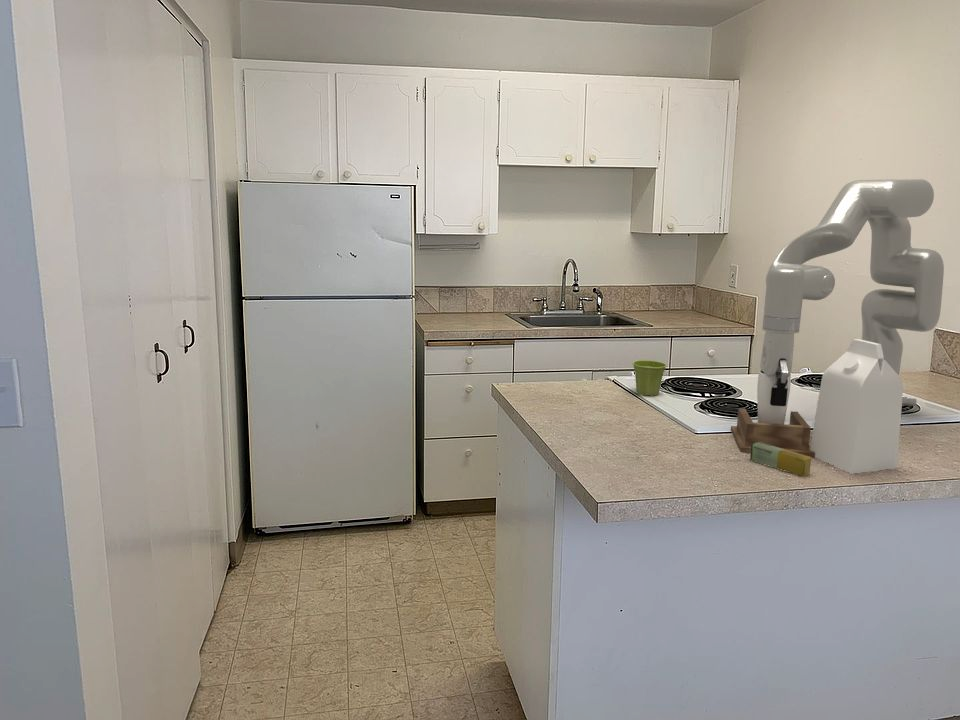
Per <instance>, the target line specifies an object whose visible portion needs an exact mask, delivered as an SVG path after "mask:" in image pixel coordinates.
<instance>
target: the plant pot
mask: <svg viewBox="0 0 960 720" xmlns="http://www.w3.org/2000/svg"><path fill="white" fill-rule="evenodd" d="M631 364H632V366H633V369H634V374H635V376H634V377H635V390H636V394H638V395H641V396H644V395H646V396H652V397H655V396H658V395H659V394H660V388H661V384H662V381H663V376H664V372H665V369H666V368H667V363H664V362H662V361H658V360H650V359H649V360H648V359H647V360H646V359H642V360H641V359H640V360H634V361H632V363H631ZM654 395H655V396H654Z"/></svg>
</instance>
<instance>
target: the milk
mask: <svg viewBox="0 0 960 720" xmlns="http://www.w3.org/2000/svg"><path fill="white" fill-rule="evenodd" d="M903 391H904V383H903V380H902V379H901V377H900V374H899V375H898V374H897V373H896V372H895V371H894V370H893V369H892V367H891V366H890V365H889V364H888V363H887V362H886V361H885V360H884V356H883V351H882V347H881V344H878V343H873V342H869V341H865V340H862V339H859V338H854V339H852V341H851V343H850V344H849V346H848V348H847V350H846V351H845V353H843V354H842V355H841V356H840V357H839V358H837V359H836V360H835V361H834V362H833V363H832V364H830V366H829V367H828V368H827V369H826V370H825V371H824V372H823V374H822V377H821V382H820V387H819V394H818V398H817V404H816V405H817V406H816V411H815V416H814V422H813V429H812V433H811V439H810V440H811V441H810V443H809V445H810V450H811V451H813V452H815V457H814V458H816V459H817V460H819V459H820V460H819V461H822V462H825V463H826V462H827V463H826V464H828V463H829V465H830V464H831V466H832V465H834V466H833V467H835V466H836V467H835V468H837V467H839V468H841V469H843V470H845V471H847V472H846V473H848V472H849V473H848V474H850V473H851V474H850V475H855V474H854V473H858V474H861V473H860V472H867V473H869V472H868V471H875V472H877V471H876V470H883V471H886V470H885V469H891V470H895V469H894V468H897V469H898V462H899V449H900V448H899V447H900V435H901V434H900V433H901V421H902V409H903V408H902V407H903V406H902V397H903V393H904V392H903ZM839 468H838V469H839ZM841 469H840V470H841ZM843 470H842V471H843ZM845 471H844V472H845Z"/></svg>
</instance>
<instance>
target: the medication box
mask: <svg viewBox="0 0 960 720" xmlns="http://www.w3.org/2000/svg"><path fill="white" fill-rule="evenodd" d="M749 460H750V461H751V460H752V461H751V462H754V461H756V463H757V462H759V463H758V464H761V463H762V464H761V465H764V464H766V465H765V466H767V465H769V466H768V467H770V466H772V467H771V468H773V467H776V468H775V469H777V468H779V469H778V470H780V469H782V470H781V471H783V470H786V471H789V472H792V473H795V474H794V475H796V474H798V475H797V476H799V475H801V476H800V477H802V476H805V477H807V476H809V475H810V473H811V465H812V463H811V462H812V457H809V456H806V455H802V454H799V453H796V452H792V451H789V450H786V449H782V448H779V447H775V446H772V445H769V444H765V443H762V442H759V441H757V442H754V443H752V444H751V453H750V457H749ZM786 471H785V472H786ZM789 472H788V473H789ZM792 473H791V474H792ZM808 474H809V475H808ZM806 475H807V476H806Z"/></svg>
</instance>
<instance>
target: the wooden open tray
mask: <svg viewBox="0 0 960 720" xmlns="http://www.w3.org/2000/svg"><path fill="white" fill-rule="evenodd" d="M789 417H790V418H789V424H787V423H784V424H772V423H758V421H757V422H755V421H753V419H752V418H751V416H750V415H749V413H748V412H747V409H746V408H742V407H739V408H737V418H736V420H737V421H736V426H735V425H730V432H731V434H732V436H733V438H734V441H735V442H736V443H735V444H736V445H737V447H738V449H739V452H740V453H749V454H751V444H752V443H754V442H757V441H759V442H762V443H765V444H769V445H772V446H775V447H779V448H782V449H786V450H789V451H792V452H796V453H799V454H802V455H806V456H809V457H811V458H815V452H813V451H811V450H810V440H811V439H810V438H811V430H812V428H811V426H810V425H809V424H808V423H807V421H806V420H805V419H804V418H803V416H802V415H801V414H800V413H799V411H792V410H791V411H790V415H789Z"/></svg>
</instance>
